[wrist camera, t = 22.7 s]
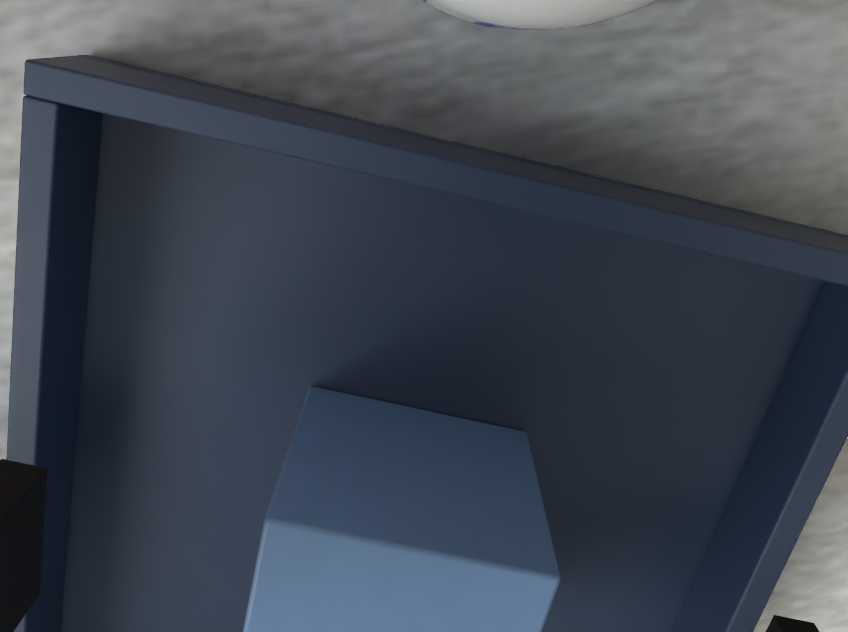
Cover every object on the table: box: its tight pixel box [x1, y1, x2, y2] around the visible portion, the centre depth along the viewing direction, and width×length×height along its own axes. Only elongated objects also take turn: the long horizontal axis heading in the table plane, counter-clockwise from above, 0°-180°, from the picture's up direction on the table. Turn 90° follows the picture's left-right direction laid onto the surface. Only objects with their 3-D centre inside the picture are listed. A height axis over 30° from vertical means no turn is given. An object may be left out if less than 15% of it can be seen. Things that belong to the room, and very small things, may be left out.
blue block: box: [243, 387, 560, 632], centre depth 16 cm, size 5×5×5 cm
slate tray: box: [7, 55, 848, 632], centre depth 17 cm, size 16×16×2 cm
